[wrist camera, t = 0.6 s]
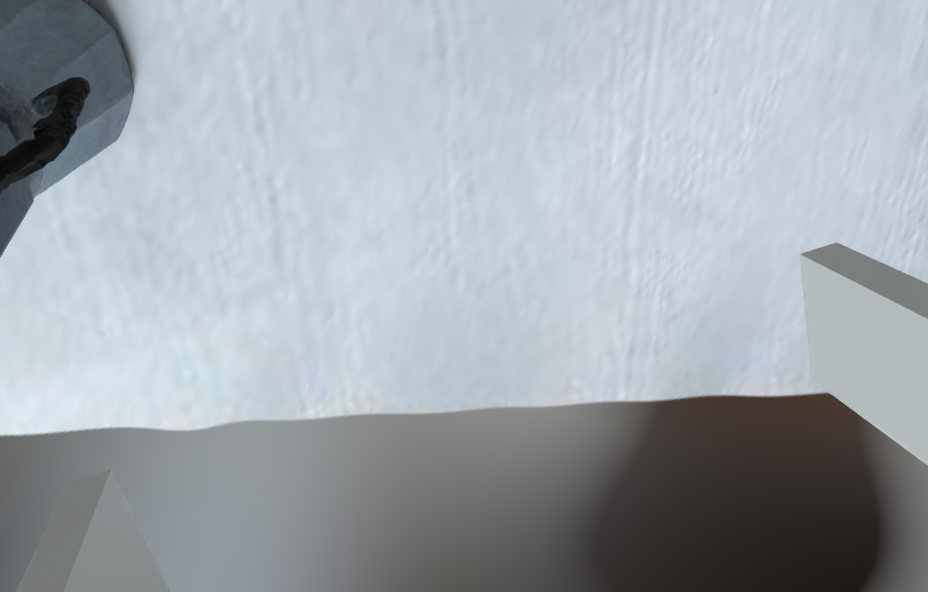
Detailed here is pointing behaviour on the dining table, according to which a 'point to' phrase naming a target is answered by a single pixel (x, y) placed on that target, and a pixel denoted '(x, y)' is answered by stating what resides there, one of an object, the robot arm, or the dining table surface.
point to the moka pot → (54, 97)
